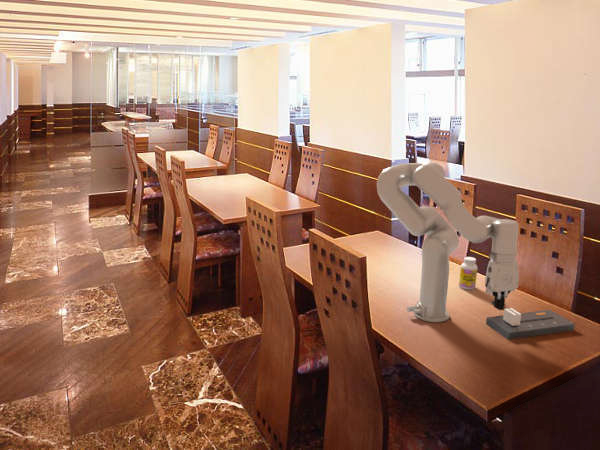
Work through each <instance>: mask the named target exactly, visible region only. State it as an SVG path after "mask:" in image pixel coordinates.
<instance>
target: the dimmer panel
mask: <svg viewBox="0 0 600 450" xmlns="http://www.w3.org/2000/svg"><path fill="white" fill-rule="evenodd" d="M519 313H520V314H521V320H520V325H514V326H512V325H511V324H509V323H508V322H506V321H505V320H503V315H504V314H503V315H502V314H501V315H496V316H495V315H494V316H487V317H486V322H485V324H486V325H487V326H489V327H490V329H493V330H494V331H495V332H497V333H498V334H499V335H501V336H503V338H505V339H507V340H515V339H521V338H522V339H523V338H529V337H537V336H544V335H551V334H558V333H563V332H564V333H566V332H572V331H575V328H576V326H575V325H576V323H575V322H573V321H571V320H569V319H567V318H565V317H564V316H562V315H561V314H558V313H557V312H555V311H553V310H551V309H543V310H537V311H536V310H534V311H527V312H519Z"/></svg>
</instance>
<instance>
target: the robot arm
mask: <svg viewBox="0 0 600 450" xmlns="http://www.w3.org/2000/svg"><path fill="white" fill-rule="evenodd" d="M445 175H446V172H445V170H444V168H443V166H441V164H438V163H437V162H413V163H412V162H411V163H407V162H406V163H400V164H397V165H392V166H389V167H387V168H384V169H383V170H382V171H381V172H380V173H379V175H378V177H377V180H376V190H377V195H378V196H379V198H380V200H381V202H383V204H384V205H385V206H386V207H387V208H388V209H389V211H391V213H392V214H393V216H395V217H396V218H397V219H398V221H399V222H400V223H401V224H402V225H403V227H404V228H405V229H406V230H407V231H408V232H409V234H411V235H412V236H415V237H420V236H423V235H426V237H425V238H424V240H423V242H422V244H421V261H422V262H421V276H420V277H421V279H420V290H419V299H418V300H419V301H417V302H416V304H414V305H413V306H412V305H409V306H406V311H407V313H410V312H412V313H413V314H414V316H415V317H416V318H418V319H420V320H422V321H425V322H429V323H442V322H447V321H448V320H449V319H450V313H449V311H448V310H447V309H446V308H447V298H448V297H447V296H448V289H449V287H448V286H449V278H450V277H449V276H450V259H449V258H450V255H451V253H453V252H454V251H455V250H456V249H457V248H458V247H459V243H460V237H459V234H460V235H461V236H462V237H463V238H464V239H466V241H467V240H468V242H471V243H473V244H479V243H480V244H481V243H483V242H485V241H486V240H488V239H489V238H491V239H492V240H491V242H492V243H491V252H490V253H491V254H488V259H490V260H489V261H488V264H487V269H486V273H485V274H486V275H485V280H484V281H485V283H484V285H485V286H484V287H485V293H486V294H488V295H492V296H493V297H494V298H493V301H494V305H493V307H494V308H495V309H496V310H499V311H501V310H504V309H505V305H506V303H505V302H506V299H507V298H508V295H509V294H510V293H512V292H515V291H516V290H517V289H518V288H519V279H520V277H519V274H520V272H519V264H518V260H516V257H517V247H518V237H519V222H517V221H516V220H512V219H508V218H504V219H503V218H501V219H500V218H497V217H493V216H488V215H480V216H477V217H475V216H474V215H473V214H472V213H471V212H470V211H469V210H468V209H467V208H466V207H465V205H464V203H463V200H462V196H461V195H462V193H461V192H460V190H459V189H458V187H456V186H454V184H452V183H451V182H450V181H449V180H448V179H447V178H446V177H445ZM407 186H408V187H410V186H416V187H418V189H419V190H421V191H422V192H423V193H424V194H425V195H426V196H427V197H428V198H429V199H430V200H431V201H433V202H434V204H436V205H437V206H438V207H439V209H440V210H441V211H442V213H443V215H444V216H445V218H446V219H445V218H444V217H443V215H442V214H441V213H439V211H438V210H437V209H435V208H433V207H431V206H427V205H424V206H419V205H418V204H417V203H416V202H415V201H414V199H413V198H412V197H411V196H409V195H408V194H407V193H405V192H404V191H403V190H402V188H403V187H407ZM448 222H449V223H448ZM456 231H457V232H458V233H459V234H458V233H457V232H456ZM504 304H505V305H504Z"/></svg>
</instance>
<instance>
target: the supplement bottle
mask: <svg viewBox="0 0 600 450" xmlns="http://www.w3.org/2000/svg"><path fill="white" fill-rule="evenodd" d="M463 261H464V262H462V263H461V265H460V271H459V281H458V286H459V288H461V289H464V290H470V291H471V290H474V289H475V288H476V284H477V274H478V269H479V268H478V265H477V264H476V262H477V259H476V258H475V257H473V256H465V257H464V260H463Z"/></svg>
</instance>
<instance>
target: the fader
mask: <svg viewBox="0 0 600 450" xmlns="http://www.w3.org/2000/svg"><path fill="white" fill-rule="evenodd" d="M520 313H521V312H519V311H517V310H515V309H514V308H513V307H510V308H509V307H508V308H504V311H503V320H505V321H506V322H508V323H509V324H511V325H512V326H514V325H520V320H521V314H520Z"/></svg>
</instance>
